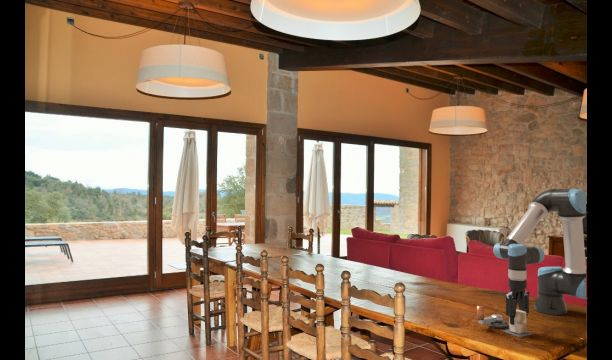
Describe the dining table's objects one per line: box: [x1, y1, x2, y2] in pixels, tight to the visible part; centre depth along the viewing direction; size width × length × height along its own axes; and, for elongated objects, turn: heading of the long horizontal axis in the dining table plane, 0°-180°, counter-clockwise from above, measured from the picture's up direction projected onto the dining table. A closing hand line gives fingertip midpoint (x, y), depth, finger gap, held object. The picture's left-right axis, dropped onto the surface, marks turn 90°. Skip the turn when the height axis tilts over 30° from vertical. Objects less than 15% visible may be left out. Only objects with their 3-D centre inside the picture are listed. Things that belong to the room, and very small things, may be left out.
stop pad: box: [502, 328, 534, 338], centre depth 199 cm, size 9×9×1 cm
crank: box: [476, 305, 504, 325], centre depth 207 cm, size 15×5×8 cm, turn 117°
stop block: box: [508, 308, 527, 334], centre depth 199 cm, size 5×5×9 cm
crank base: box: [486, 319, 509, 330], centre depth 209 cm, size 9×9×2 cm
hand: (517, 330), depth 199 cm, fingers closed on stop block, 5 cm apart
